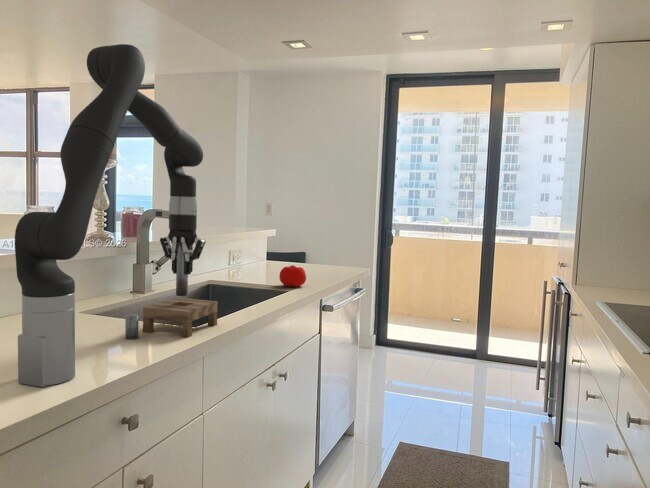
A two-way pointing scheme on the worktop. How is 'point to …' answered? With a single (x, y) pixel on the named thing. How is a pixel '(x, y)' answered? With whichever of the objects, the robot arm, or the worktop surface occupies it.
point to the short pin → (131, 326)
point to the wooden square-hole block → (180, 313)
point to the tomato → (292, 276)
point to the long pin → (181, 273)
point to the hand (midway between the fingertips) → (182, 273)
